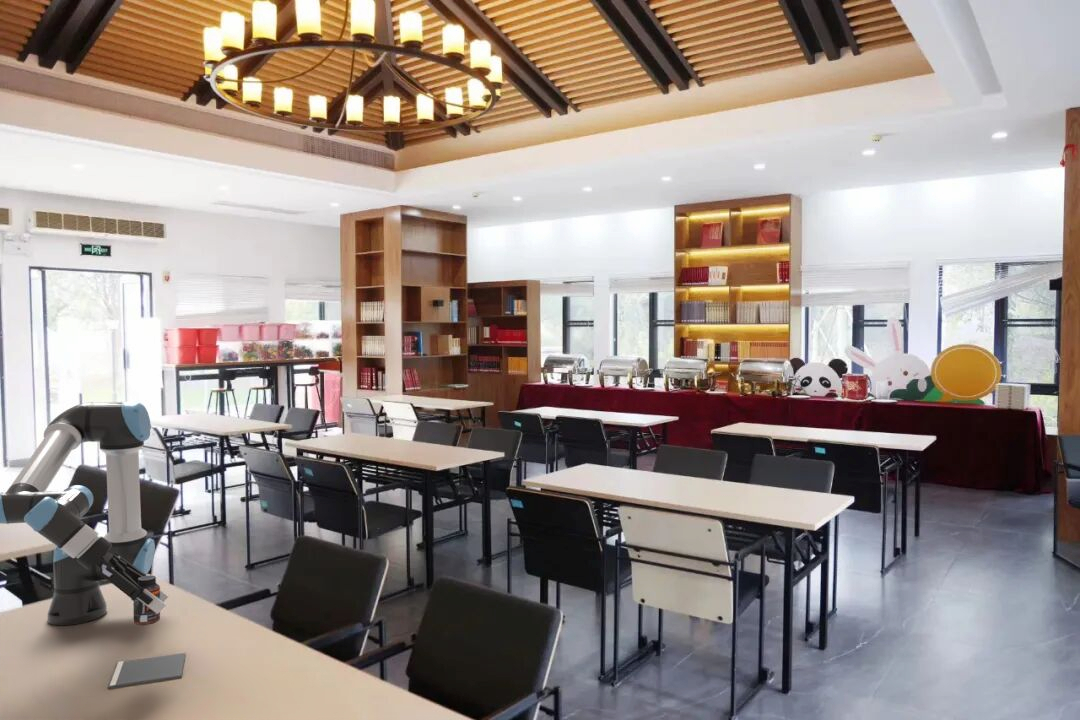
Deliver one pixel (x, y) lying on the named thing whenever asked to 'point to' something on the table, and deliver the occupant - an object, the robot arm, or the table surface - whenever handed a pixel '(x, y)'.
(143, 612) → the supplement bottle
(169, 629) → the table surface
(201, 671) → the table surface
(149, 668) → the grey flat slab
